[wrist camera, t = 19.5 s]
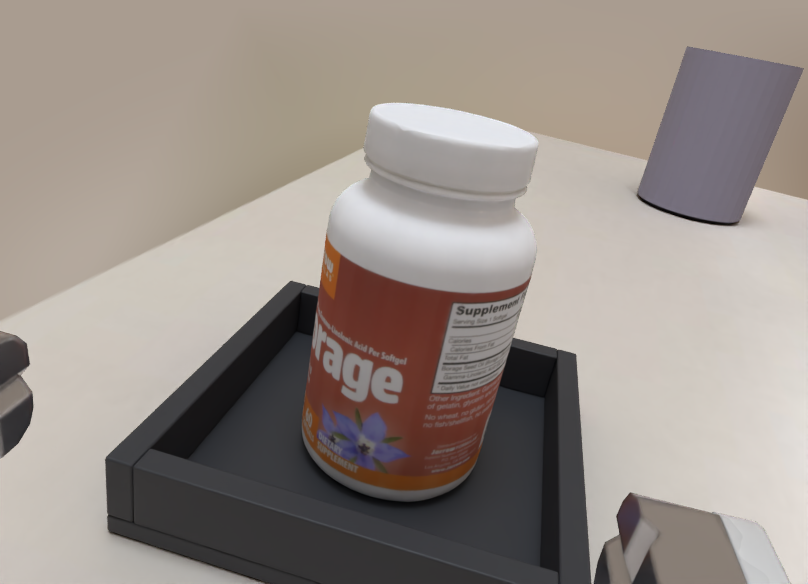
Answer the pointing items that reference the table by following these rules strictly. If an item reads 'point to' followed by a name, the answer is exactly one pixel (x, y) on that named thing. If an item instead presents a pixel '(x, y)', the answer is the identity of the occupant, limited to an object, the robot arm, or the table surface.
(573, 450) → the dark shallow tray
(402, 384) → the pill bottle
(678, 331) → the table surface
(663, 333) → the table surface
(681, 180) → the container
